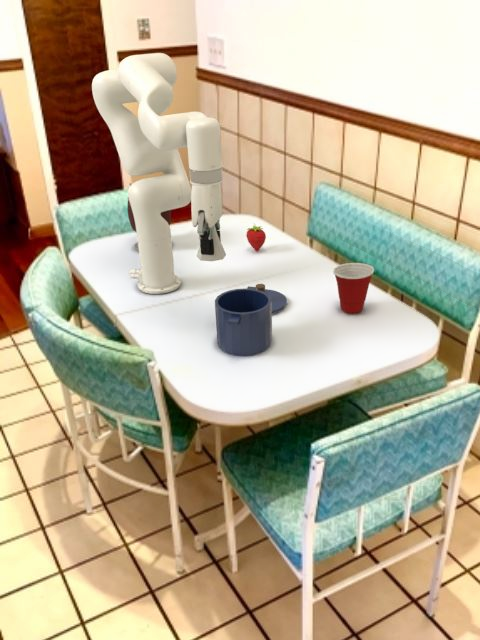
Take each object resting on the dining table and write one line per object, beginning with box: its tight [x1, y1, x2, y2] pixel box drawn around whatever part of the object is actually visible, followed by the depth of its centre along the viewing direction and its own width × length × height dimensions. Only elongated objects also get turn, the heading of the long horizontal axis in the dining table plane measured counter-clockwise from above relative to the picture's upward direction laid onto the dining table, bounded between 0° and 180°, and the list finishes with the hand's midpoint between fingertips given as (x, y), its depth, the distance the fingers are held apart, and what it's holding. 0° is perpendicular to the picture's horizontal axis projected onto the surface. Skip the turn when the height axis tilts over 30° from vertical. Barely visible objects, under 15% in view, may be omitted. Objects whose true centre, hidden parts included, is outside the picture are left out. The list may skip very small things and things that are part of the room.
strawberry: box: [245, 224, 267, 252], centre depth 207 cm, size 6×8×10 cm
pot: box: [214, 285, 273, 357], centre depth 156 cm, size 14×19×12 cm
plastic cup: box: [332, 262, 375, 315], centre depth 170 cm, size 11×11×12 cm
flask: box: [196, 224, 227, 262], centre depth 153 cm, size 7×7×10 cm
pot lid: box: [255, 283, 288, 314], centre depth 175 cm, size 15×15×6 cm
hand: (211, 249), depth 155 cm, fingers closed on flask, 4 cm apart
